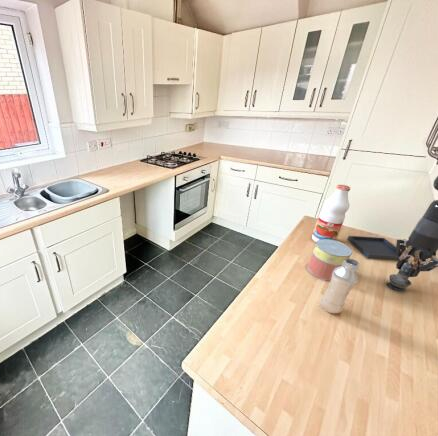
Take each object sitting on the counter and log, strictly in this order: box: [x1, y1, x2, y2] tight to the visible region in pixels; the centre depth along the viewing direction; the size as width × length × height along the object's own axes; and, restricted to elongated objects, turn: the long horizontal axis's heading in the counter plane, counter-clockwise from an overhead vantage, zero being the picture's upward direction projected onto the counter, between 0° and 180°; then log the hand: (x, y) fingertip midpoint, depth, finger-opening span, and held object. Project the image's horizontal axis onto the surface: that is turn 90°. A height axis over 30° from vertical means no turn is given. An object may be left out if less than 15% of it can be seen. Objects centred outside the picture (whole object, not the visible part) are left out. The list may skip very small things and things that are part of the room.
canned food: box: [307, 239, 353, 281], centre depth 96 cm, size 11×11×12 cm
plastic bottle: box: [319, 258, 360, 315], centre depth 77 cm, size 6×7×20 cm
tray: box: [347, 235, 401, 262], centre depth 110 cm, size 15×15×2 cm
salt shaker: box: [385, 261, 414, 293], centre depth 87 cm, size 6×6×12 cm
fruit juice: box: [311, 184, 351, 243], centre depth 111 cm, size 9×9×28 cm
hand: (404, 272), depth 87 cm, fingers closed on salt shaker, 3 cm apart
